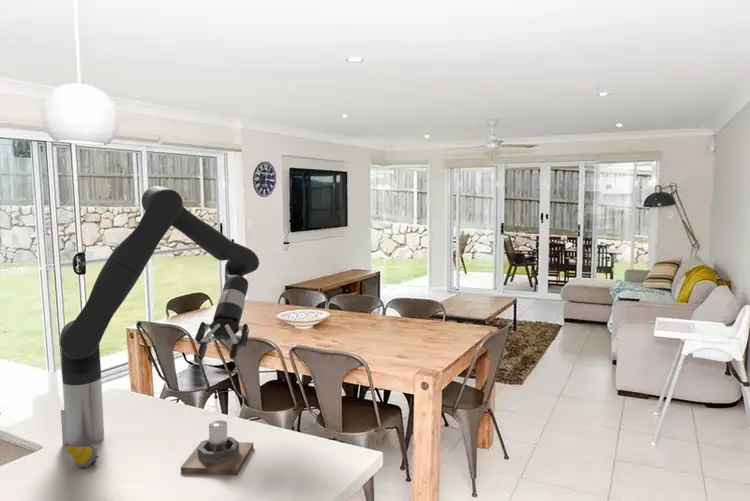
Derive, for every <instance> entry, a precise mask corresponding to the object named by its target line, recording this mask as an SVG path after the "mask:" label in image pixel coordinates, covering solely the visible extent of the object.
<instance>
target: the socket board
mask: <svg viewBox="0 0 750 501" xmlns="http://www.w3.org/2000/svg"><path fill="white" fill-rule="evenodd" d="M253 450H254V442H243V441H241V442H239V441H238V440H237V439H236V438H234V437H232V436H227V450H224V451H221V452H210V451H209V438H208V439H205V440H201V441H200V443H199V444H198V445H197V447H195V449H194V450H193V452H191V454H190V455H189V457H187V459H186V460H185V461H184V462H183V464H182V465H181V466H180V474H187V475H189V474H191V475H218V476H219V475H220V476H238V475H239V473H240V472H241V470H242V469H243V466H244V465H245V464H246V461H247V460H248V458H249V457H250V455H251V453H252V451H253Z"/></svg>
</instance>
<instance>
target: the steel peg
mask: <svg viewBox="0 0 750 501" xmlns="http://www.w3.org/2000/svg"><path fill="white" fill-rule="evenodd" d="M208 434H209V436H208V439H209V451H210V452H221V451H224V450H227V437H228V422H227V421H225V420H214V421H211V422H210V423H209V424H208Z"/></svg>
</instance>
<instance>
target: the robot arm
mask: <svg viewBox="0 0 750 501" xmlns="http://www.w3.org/2000/svg"><path fill="white" fill-rule="evenodd" d="M141 196H142V197H141V205H142V209H143V210H144V213H143V216H142V217H141V218H140V221H139V222H138V224H137V226H136V227H135V228H134V230H133V231H132V232H131V233H130V234H129V235H128V236H127V237H126V238H125V239H123V240H122V241H121V242H120V243H119V245H117V247H115V249H114V250H113V251H112V253H111V254H109V257H107V259H106V261H105V263H104V264H103V266H102V268H101V269H100V272H99V273H98V275H97V277H96V280H95V282H94V284H93V287H92V289H91V292H90V294H89V297H88V299H87V301H86V302H85V305H84V307H83V308H82V310H81V311H80V313H78V315H77V316H76V318H75V319H73V320H71V321H68V322H67V323H66V324H65V325H64V326H63V327H62V330H61V332H60V337H59V345H60V352H61V354H60V355H61V376H62V377H61V379H62V391H63V393H62V394H63V408H62V409H61V410H60V420H61V421H60V422H61V423H60V424H61V438H62V441H61V442H62V445H65V446H77V447H87V446H89V445H91V446H93V445H96V444H98V443H99V442H101V441H103V439H104V437H105V428H104V427H105V426H104V405H103V404H104V403H103V388H102V387H103V385H102V384H103V383H102V368H101V367H102V366H101V354H100V353H101V352H100V343H101V341H102V338H103V336H104V334H105V332H106V330H107V328H108V326H109V324H110V322H111V320H112V318H113V316H114V315H115V313H117V310H118V309H119V308H120V306H122V304H123V303H124V301H125V300H126V298H127V297H128V296H129V293H130V292H131V290H132V289H133V288H134V286H135V285H136V283H137V282H138V281H139V278H140V276H141V275H142V273H143V272H144V270H145V268H146V266H147V264H148V263H149V261H150V259H151V258H152V256H153V255H154V252H155V250H156V249H157V247H158V246H159V243H160V242H161V241H162V239H163V238H164V236H165V235H166V234H167V232H168V231H169V229H170V228H171V227H172V228H175V229H176V230H178V231H179V232H180V233H182V234H183V235H185V236H186V237H187V238H188V239H190V240H191V241H192V242H193V243H195V244H196V245H197V246H199V247H200V249H202V250H203V251H205V252H206V253H207V254H209V255H210V256H212V257H214V259H216V260H218V261H221V262H223V261H226V263H225V265H224V285H223V288H222V292H221V294H220V296H219V298H218V303H217V305H216V309H215V312H214V315H213V320H212V321H211V323H206V322H204V321H201V322H200V324H199V327H198V330H197V332H196V335H195V337H194V340H195V341H196V343H197V344H198V345H199V347H198V351H197V354H198V355H199V357H200V359H204V358H205V355H206V352H207V348H208V345H209V344H211V343H213V342H214V341H216V340H218V341H221V340H225V341H228V340H231V342H232V343H233V344H231V348H230V352H229V359H230V360H235V358H237V356H238V351H239V350H240V349H239V348H241V347H246V346H247V344H248V339H249V332H250V328H249V326H248V323H244V324H243V325H240V323H241V319H242V316H243V313H244V309H245V302H246V296H247V292H248V290H249V281H248V279H247V278H245V277H244V276H246V275H249V274H251V273H253V272H255V271H257V269H258V268H259V266H260V260H259V257H258V255H257V254H256V252H254V251H253V250H252V249H250V248H248V247H246V246H244V245H241V244H240V243H238V242H234V241H231V239H229V238H228V237H226V235H225V234H223V233H222V232H220V231H219V230H217V229H216V228H215V227H213V226H211V225H210V224H209V223H207V222H205V221H203V220H202V219H200V218H199V217H197V216H196V215H194V213H192V212H191V211H189V210H188V209H187V208H186V207H184V206H183V205H184V203H183V199H182V197H181V195H180V193H179V192H177V191H176V190H174V189H173V188H169V187H166V186H162V185H156V186H151V187H149V188H147V189H146V190H145V191H144V193H142V195H141ZM208 330H209V331H208ZM239 331H240V333H241V336H240V339H239V340H238V339H237V337H236V334H237V333H238V332H239Z"/></svg>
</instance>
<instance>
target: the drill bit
mask: <svg viewBox="0 0 750 501" xmlns="http://www.w3.org/2000/svg"><path fill="white" fill-rule="evenodd" d="M64 448H65V449H66V451H67V452H68V453H69V454H70V456H71V457H72V458H73V459H74V461H75V463H76V464H75V465H76V466H77V467H78V468H81V469H86V468H87V467H88V466H90V465H91V464H92V463H95V462H97V459H98V458H99V457H100V456H99V455H97V451H98V450H97V448H96V447H95V446H93V445H89V446H85V447H77V446H68V445H65V446H64Z"/></svg>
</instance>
